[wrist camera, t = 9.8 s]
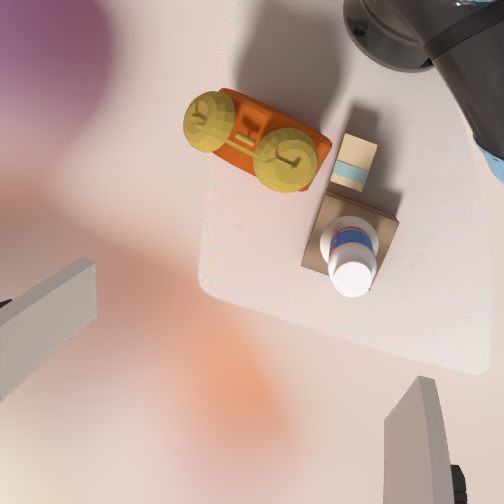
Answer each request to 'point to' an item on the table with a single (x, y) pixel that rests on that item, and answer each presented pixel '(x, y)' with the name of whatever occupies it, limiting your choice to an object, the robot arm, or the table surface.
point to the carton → (353, 162)
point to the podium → (341, 215)
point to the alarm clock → (256, 139)
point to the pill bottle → (351, 261)
